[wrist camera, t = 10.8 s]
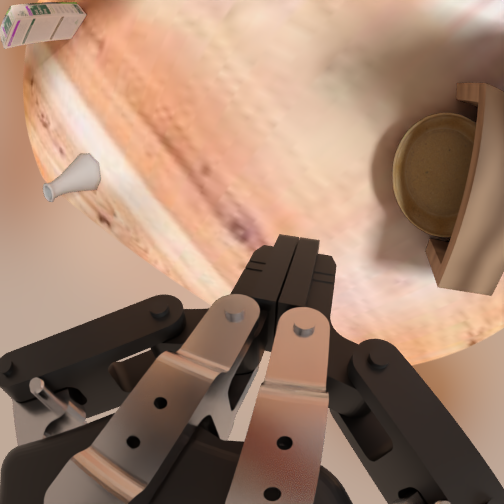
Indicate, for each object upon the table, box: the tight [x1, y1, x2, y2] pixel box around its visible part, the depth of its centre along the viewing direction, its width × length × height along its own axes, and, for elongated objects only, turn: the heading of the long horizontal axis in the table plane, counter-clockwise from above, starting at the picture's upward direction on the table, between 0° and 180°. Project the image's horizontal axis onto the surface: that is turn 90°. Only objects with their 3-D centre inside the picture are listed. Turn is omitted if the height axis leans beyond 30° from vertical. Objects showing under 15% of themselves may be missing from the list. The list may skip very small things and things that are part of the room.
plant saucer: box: [392, 113, 476, 237], centre depth 24 cm, size 15×15×3 cm
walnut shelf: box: [425, 83, 504, 296], centre depth 21 cm, size 8×22×8 cm, turn 1°
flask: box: [43, 154, 101, 202], centre depth 38 cm, size 7×7×10 cm
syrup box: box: [0, 2, 87, 49], centre depth 20 cm, size 6×6×14 cm
